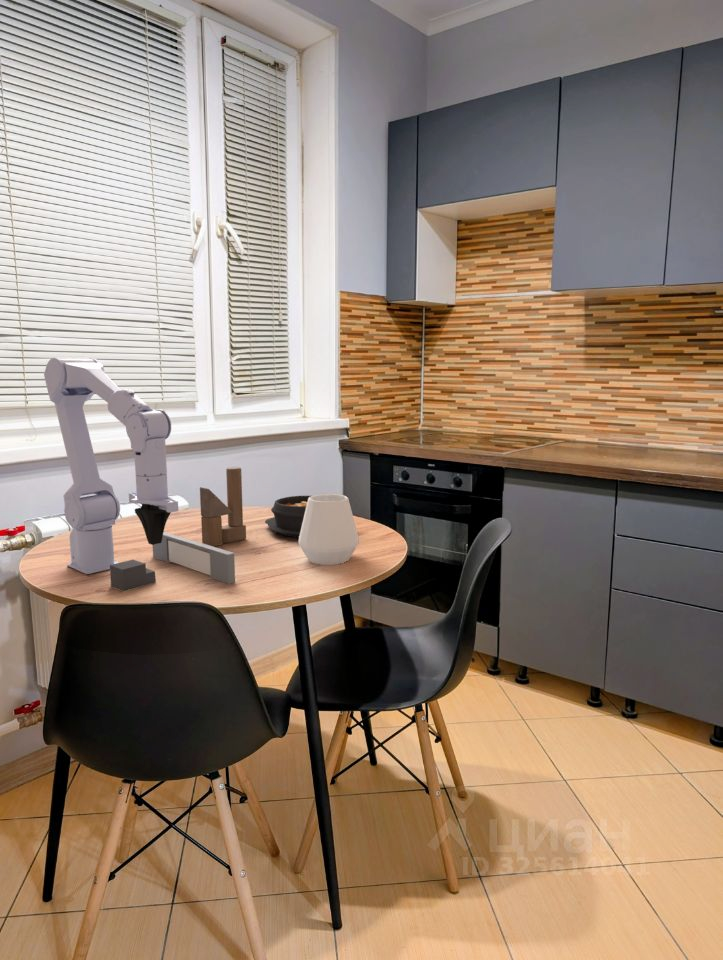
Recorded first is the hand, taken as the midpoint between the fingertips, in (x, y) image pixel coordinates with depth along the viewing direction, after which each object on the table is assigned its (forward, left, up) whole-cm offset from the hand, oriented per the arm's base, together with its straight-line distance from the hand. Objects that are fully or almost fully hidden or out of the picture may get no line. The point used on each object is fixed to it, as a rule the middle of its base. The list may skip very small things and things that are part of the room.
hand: (155, 543), depth 130 cm
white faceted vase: (+12, +36, -9) cm, 38 cm away
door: (-4, +10, -8) cm, 14 cm away
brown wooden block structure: (-17, +29, -9) cm, 34 cm away
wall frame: (-4, +11, -8) cm, 14 cm away
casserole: (-10, +49, -9) cm, 50 cm away
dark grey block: (-4, -3, -9) cm, 10 cm away
